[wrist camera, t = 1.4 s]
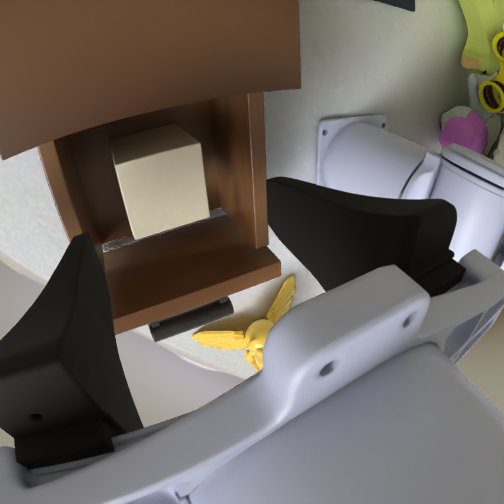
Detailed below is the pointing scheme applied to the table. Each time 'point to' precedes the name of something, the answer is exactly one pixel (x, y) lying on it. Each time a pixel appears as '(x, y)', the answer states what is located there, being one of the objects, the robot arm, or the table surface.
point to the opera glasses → (494, 81)
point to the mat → (400, 3)
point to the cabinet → (134, 60)
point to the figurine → (252, 329)
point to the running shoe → (498, 148)
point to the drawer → (180, 240)
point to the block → (160, 179)
